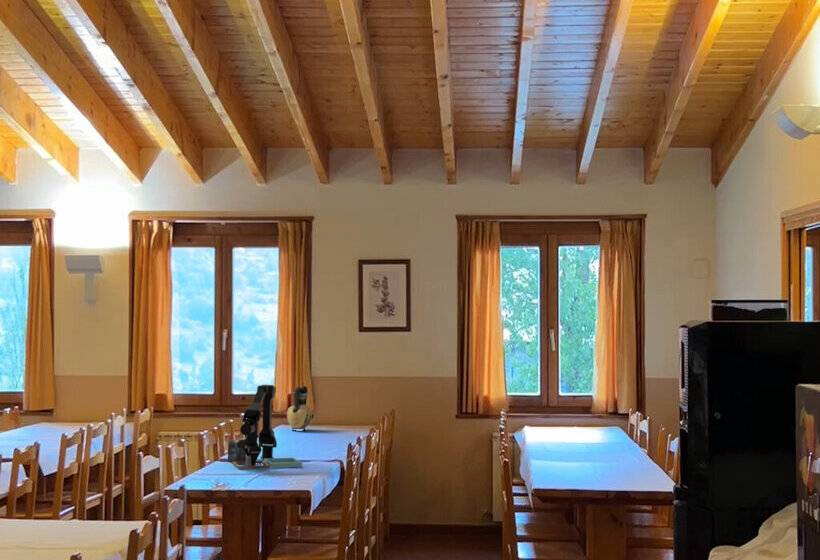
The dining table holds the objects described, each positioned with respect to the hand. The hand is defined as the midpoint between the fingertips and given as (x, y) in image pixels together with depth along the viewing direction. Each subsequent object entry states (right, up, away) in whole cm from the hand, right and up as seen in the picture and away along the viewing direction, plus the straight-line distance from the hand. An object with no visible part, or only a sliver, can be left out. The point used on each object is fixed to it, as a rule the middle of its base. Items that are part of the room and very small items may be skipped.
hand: (250, 463), depth 441 cm
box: (-10, -2, +13) cm, 16 cm away
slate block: (0, -1, 0) cm, 1 cm away
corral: (0, -1, 0) cm, 1 cm away
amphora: (+5, -9, +149) cm, 149 cm away
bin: (+15, -2, +6) cm, 17 cm away
